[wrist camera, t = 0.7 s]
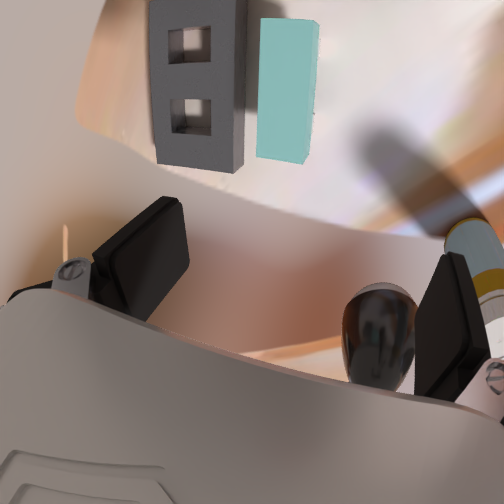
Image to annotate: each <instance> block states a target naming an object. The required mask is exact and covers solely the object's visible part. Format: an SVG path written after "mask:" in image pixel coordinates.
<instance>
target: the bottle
mask: <svg viewBox="0 0 504 504" xmlns="http://www.w3.org/2000/svg"><path fill="white" fill-rule="evenodd" d="M444 251H445V255H446V254H447V252H449V251H450V252H454V253H458V254H462V255H464V257H465V259H466V262H467V265H468V268H469V271H470V274H471V277H472V280H473V284H474V287H475V290H476V294H477V297H478V301H479V304H480V308H481V312H482V316H483V320H484V324H485V328H486V333H487V337H488V342H489V347H490V352H491V358H500V359H502V360H504V249H503V247H502V245H501V243H500V241H499V239H498V237H497V235H496V233H495V231H494V230H493V228H492V227H491V225H490V224H489V223H488V222H486V221H485V220H483V219H479V218H468V219H464V220H462V221H460V222H458V223H457V224H456V225H455V226H453V227H452V228H451V230H450V231H449V233H448V234H447V236H446V239H445V243H444Z"/></svg>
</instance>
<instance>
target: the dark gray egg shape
mask: <svg viewBox="0 0 504 504" xmlns="http://www.w3.org/2000/svg"><path fill="white" fill-rule="evenodd" d="M417 309H418V306H417V305H416V303H415V302H414V301H413V299H412V297H411V296H410V295H409V294H408V293H407V292H406V291H405V290H404V289H402V288H401V287H399V286H397V285H394V284H391V283H375V284H371V285H369V286H366V287H365V288H363V289H361V290H360V291H359V292H358V293H357V294H356V295H355V296H354V297H353V298H352V300H351V301H350V302H349V303H348V304H347V306H346V308H345V310H344V313H343V318H342V330H341V331H342V332H341V343H342V355H343V361H344V366H345V370H346V373H347V377H348V380H349V382H348V383H353V384H358V385H363V386H368V387H373V388H378V389H384V390H389V391H394V392H396V391H397V390H398V388H399V387H400V386H401V384H402V383H403V381H404V379H405V377H406V375H407V373H408V371H409V369H410V366H411V364H412V361H413V359H414V356H415V330H414V318H415V314H416V311H417Z"/></svg>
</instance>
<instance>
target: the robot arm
mask: <svg viewBox="0 0 504 504" xmlns="http://www.w3.org/2000/svg"><path fill="white" fill-rule="evenodd" d="M92 256H93V259H94V262H93V263H92V264H91V262H90V261H89V260H88V259H86V258H83V257H78V258H73V259H70V260H68V261H66V262H64V263H63V264H61V265H60V266H59V267H58V268H57V270H56V272H55V274H54V278H53V280H51V281H48V282H45V283H41V284H37V285H34V286H30V287H27V288H24V289H21V290H17V291H15V292H14V293H13V294H12V295H11V297H10V298H9V300H8V301H7V304H6V305H5V306H4V305H3V306H1V307H0V504H504V360H502V359H500V358H491V352H490V347H489V342H488V337H487V333H486V328H485V324H484V320H483V316H482V312H481V308H480V304H479V301H478V297H477V294H476V290H475V287H474V284H473V280H472V277H471V274H470V271H469V268H468V265H467V262H466V259H465V257H464V255H462V254H458V253H454V252H450V251H449V252H447V254H446V255H444V254H443V255H442V256H441V257H440V260H439V262H438V265H437V267H436V269H435V272H434V274H433V276H432V279H431V281H430V283H429V286H428V288H427V290H426V292H425V295H424V297H423V299H422V301H421V303H420V305H419V307H418V309H417V311H416V314H415V318H414V330H415V384H414V386H415V387H414V395H411V394H405V393H400V392H394V391H389V390H384V389H378V388H373V387H368V386H363V385H358V384H353V383H348V382H344V381H339V380H334V379H330V378H326V377H321V376H317V375H313V374H309V373H305V372H301V371H297V370H293V369H289V368H286V367H282V366H278V365H274V364H271V363H267V362H264V361H260V360H257V359H253V358H250V357H246V356H243V355H240V354H236V353H233V352H230V351H227V350H223V349H220V348H217V347H214V346H211V345H208V344H205V343H202V342H199V341H196V340H193V339H190V338H188V337H185V336H182V335H179V334H176V333H173V332H170V331H168V330H165V329H162V328H160V327H157V326H154V325H151V324H149V323H146V320H147V319H148V318H149V316H150V315H151V314H152V313H153V311H154V310H155V309H156V308H157V306H158V305H159V304H160V302H161V301H162V300H163V299H164V297H165V296H166V295H167V293H168V292H169V291H170V290H171V289H172V287H173V286H174V285H175V284H176V282H177V281H178V280H179V279H180V277H181V276H182V275H183V274H184V272H185V271H186V270H187V268H188V266H189V262H190V259H189V252H188V245H187V238H186V230H185V223H184V215H183V208H182V204H181V203H180V202H179V200H178V199H177V198H174V197H167V196H162V197H160V198H159V199H158V200H156V201H155V202H154V203H153V204H151V205H150V206H149V207H148V208H146V209H145V210H144V211H142V212H141V213H140V214H139V215H137V216H136V217H135V218H134V219H133V220H131V221H130V222H129V223H128V224H126V225H125V226H124V227H123V228H121V229H120V230H119V231H118V232H117V233H116V234H114V235H113V236H112V237H111V238H110V239H108V240H107V241H106V242H105V243H104V244H103V245H101V246H100V247H99V248H98V249H97V250H96V251H95V252H93V253H92Z"/></svg>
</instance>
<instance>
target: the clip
mask: <svg viewBox="0 0 504 504" xmlns="http://www.w3.org/2000/svg"><path fill="white" fill-rule="evenodd" d="M319 55H320V38H319V24H318V23H316V22H315V21H314V20H304V19H285V18H261V26H260V56H259V86H258V115H257V145H256V157H260V158H266V159H273V160H279V161H285V162H291V163H296V164H303V163H304V161H305V160H306V158H307V157H308V155H309V150H310V140H311V134H312V133H313V127H314V117H315V114H313V109H314V97H315V85H316V72H317V58H318V57H319Z"/></svg>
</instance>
